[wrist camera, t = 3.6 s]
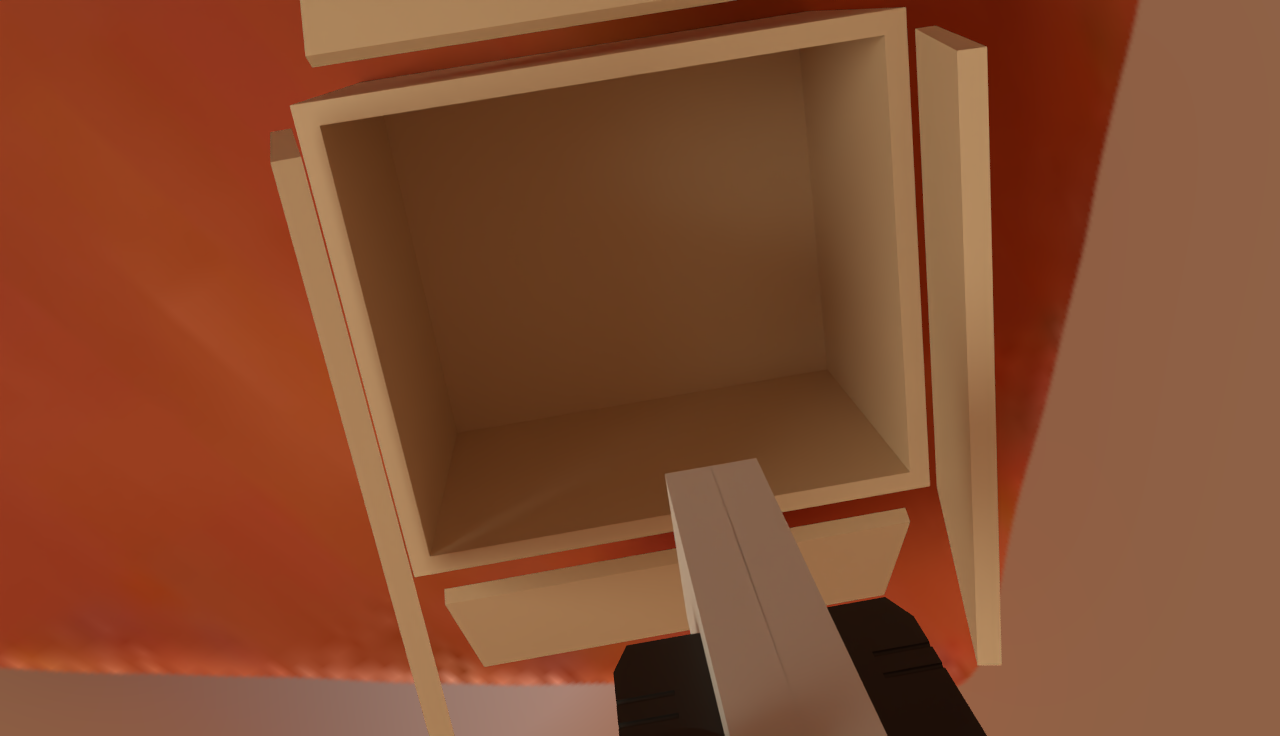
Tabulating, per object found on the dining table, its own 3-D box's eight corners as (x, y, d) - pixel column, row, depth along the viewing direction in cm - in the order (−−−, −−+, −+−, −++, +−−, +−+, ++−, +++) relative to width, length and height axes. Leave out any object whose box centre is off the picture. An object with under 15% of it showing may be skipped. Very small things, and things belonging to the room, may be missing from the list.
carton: (447, 445, 39) (415, 580, 30) (360, 82, 34) (290, 105, 25) (839, 377, 40) (930, 489, 30) (808, 11, 35) (905, 7, 25)
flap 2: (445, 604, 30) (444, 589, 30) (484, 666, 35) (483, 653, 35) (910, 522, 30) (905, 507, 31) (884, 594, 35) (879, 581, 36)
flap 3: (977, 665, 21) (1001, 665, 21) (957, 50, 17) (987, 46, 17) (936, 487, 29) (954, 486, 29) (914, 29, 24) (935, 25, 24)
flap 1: (411, 580, 28) (394, 585, 28) (291, 128, 24) (270, 132, 24) (460, 760, 21) (438, 768, 21) (300, 156, 17) (270, 162, 16)
